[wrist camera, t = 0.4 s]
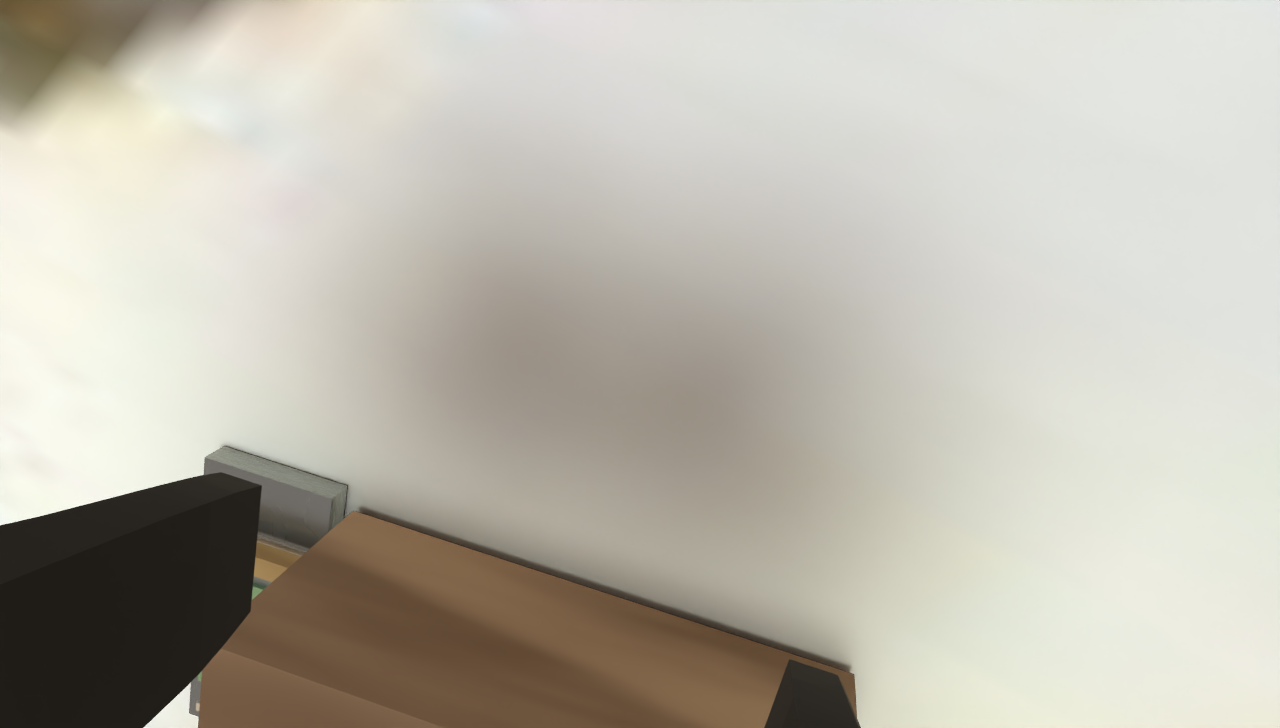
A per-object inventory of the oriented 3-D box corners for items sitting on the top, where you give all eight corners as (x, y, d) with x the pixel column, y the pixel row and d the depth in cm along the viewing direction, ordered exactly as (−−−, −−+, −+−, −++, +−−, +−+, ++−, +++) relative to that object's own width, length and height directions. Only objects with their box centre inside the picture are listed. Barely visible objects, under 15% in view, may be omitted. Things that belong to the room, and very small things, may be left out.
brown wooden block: (819, 763, 22) (819, 983, 17) (231, 562, 24) (57, 700, 19) (854, 674, 21) (866, 877, 16) (238, 473, 23) (56, 590, 18)
